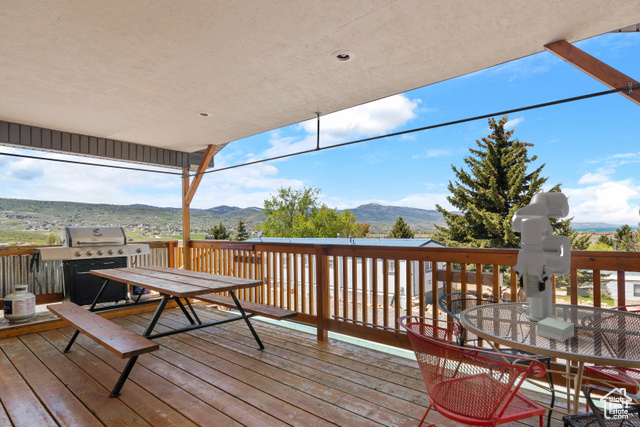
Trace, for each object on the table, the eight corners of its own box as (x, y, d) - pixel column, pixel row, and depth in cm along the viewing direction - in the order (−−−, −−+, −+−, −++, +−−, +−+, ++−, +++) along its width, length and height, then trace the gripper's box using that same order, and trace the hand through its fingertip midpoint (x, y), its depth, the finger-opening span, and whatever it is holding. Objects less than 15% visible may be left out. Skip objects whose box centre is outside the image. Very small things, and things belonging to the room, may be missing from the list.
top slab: (537, 329, 154) (537, 322, 154) (548, 323, 160) (548, 317, 160) (562, 336, 146) (562, 329, 146) (574, 330, 151) (574, 323, 151)
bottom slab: (536, 335, 155) (536, 328, 155) (549, 330, 160) (549, 323, 160) (561, 343, 146) (561, 336, 146) (573, 337, 151) (573, 330, 151)
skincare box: (539, 294, 151) (539, 266, 150) (541, 298, 147) (541, 269, 146) (522, 294, 153) (522, 266, 152) (524, 297, 149) (524, 268, 148)
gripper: (506, 246, 154) (507, 286, 156) (548, 251, 139) (548, 295, 141) (516, 243, 158) (517, 282, 159) (558, 248, 143) (559, 292, 144)
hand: (532, 288), depth 150 cm, fingers closed on skincare box, 7 cm apart
